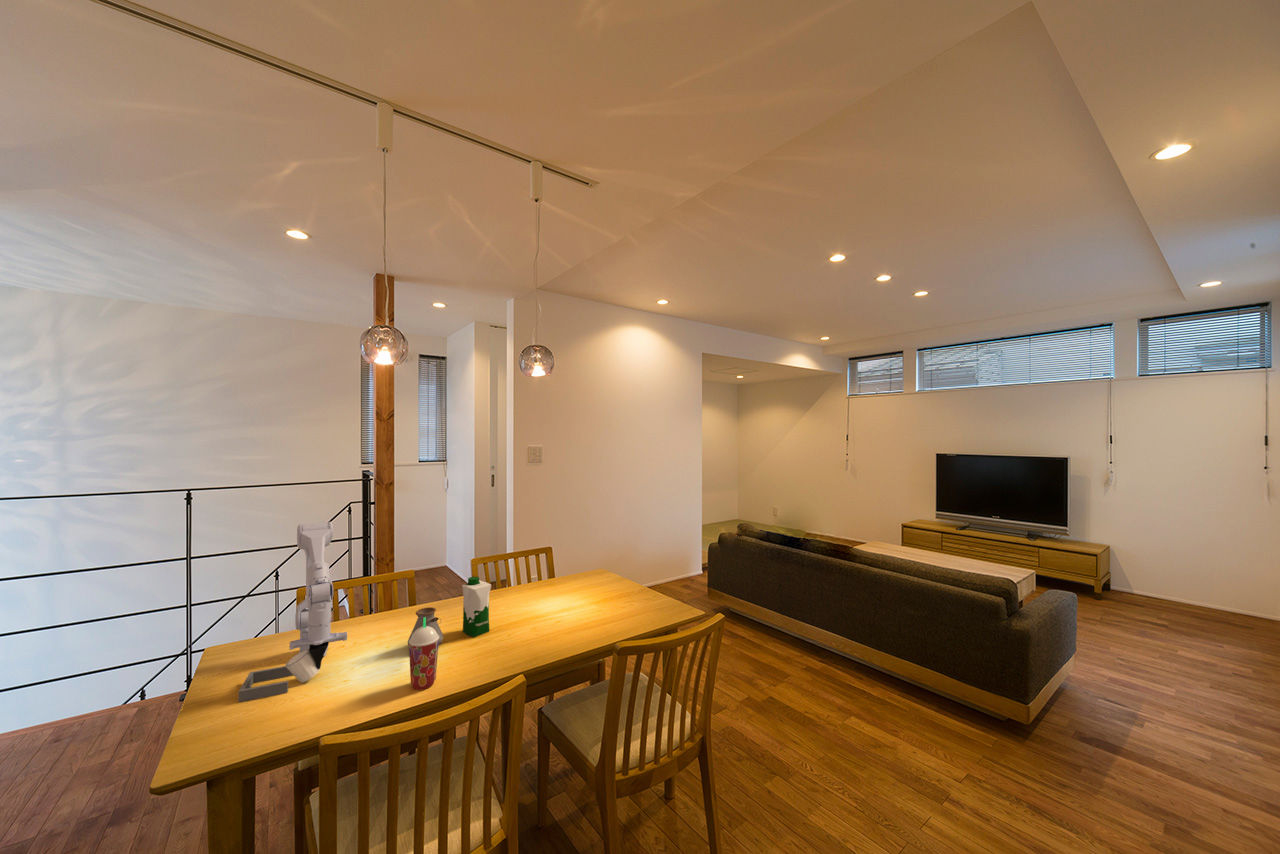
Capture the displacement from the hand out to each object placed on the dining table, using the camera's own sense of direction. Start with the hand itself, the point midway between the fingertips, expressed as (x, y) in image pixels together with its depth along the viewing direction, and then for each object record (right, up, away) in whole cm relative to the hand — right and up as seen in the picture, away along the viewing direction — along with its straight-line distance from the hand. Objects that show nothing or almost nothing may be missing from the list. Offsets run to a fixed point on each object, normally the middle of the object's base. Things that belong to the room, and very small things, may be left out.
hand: (318, 667), depth 144 cm
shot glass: (-2, -2, -1) cm, 3 cm away
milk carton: (+36, -4, +34) cm, 50 cm away
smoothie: (+34, -4, -3) cm, 34 cm away
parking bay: (-11, -3, -5) cm, 12 cm away
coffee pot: (+26, -4, +17) cm, 32 cm away
